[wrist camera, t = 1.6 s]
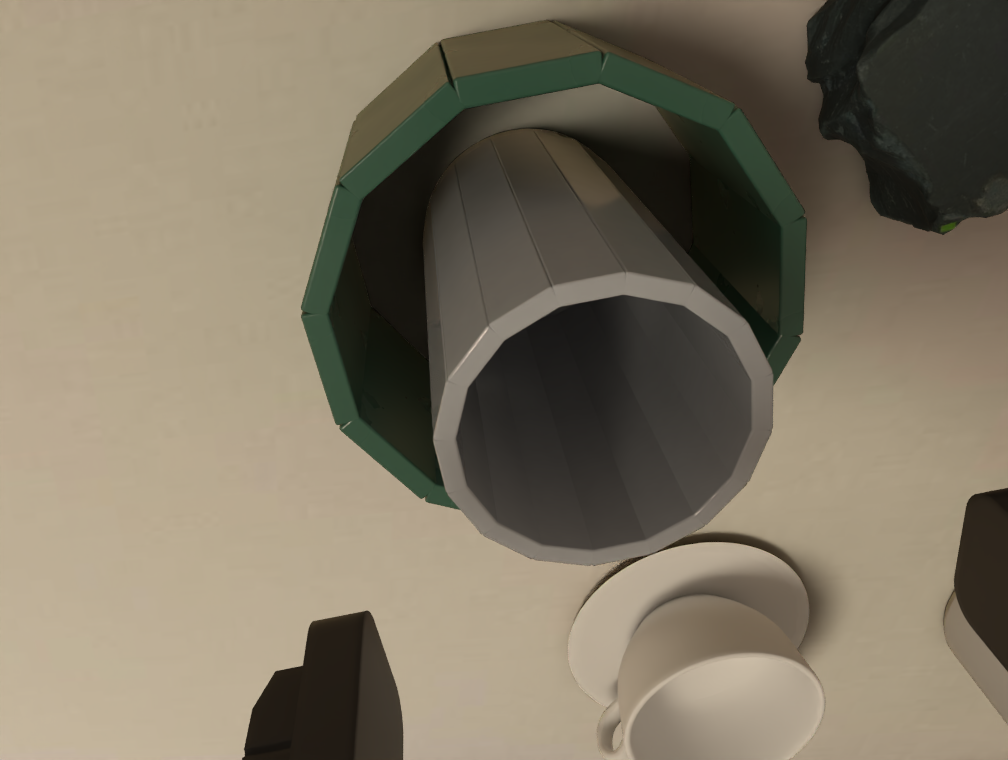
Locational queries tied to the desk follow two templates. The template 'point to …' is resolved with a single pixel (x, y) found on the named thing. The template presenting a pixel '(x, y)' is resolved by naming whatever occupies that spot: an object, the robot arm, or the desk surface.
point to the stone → (918, 102)
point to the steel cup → (580, 359)
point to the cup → (976, 657)
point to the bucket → (513, 75)
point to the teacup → (699, 657)
